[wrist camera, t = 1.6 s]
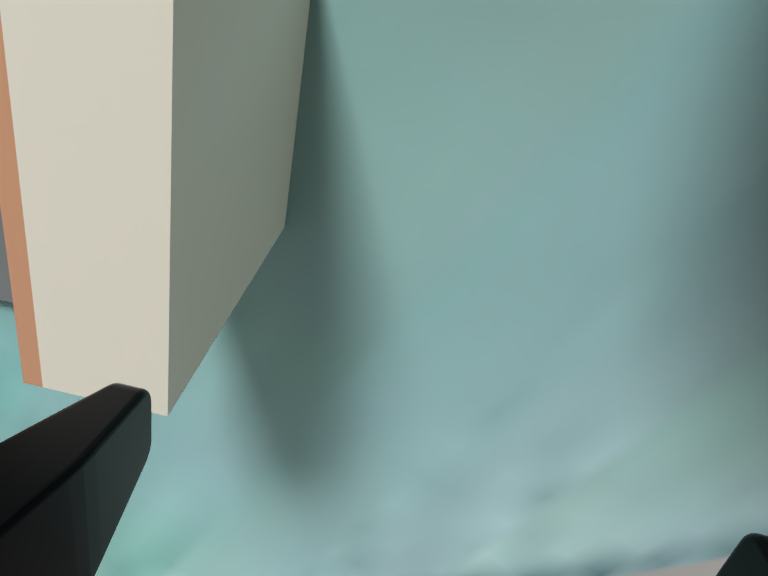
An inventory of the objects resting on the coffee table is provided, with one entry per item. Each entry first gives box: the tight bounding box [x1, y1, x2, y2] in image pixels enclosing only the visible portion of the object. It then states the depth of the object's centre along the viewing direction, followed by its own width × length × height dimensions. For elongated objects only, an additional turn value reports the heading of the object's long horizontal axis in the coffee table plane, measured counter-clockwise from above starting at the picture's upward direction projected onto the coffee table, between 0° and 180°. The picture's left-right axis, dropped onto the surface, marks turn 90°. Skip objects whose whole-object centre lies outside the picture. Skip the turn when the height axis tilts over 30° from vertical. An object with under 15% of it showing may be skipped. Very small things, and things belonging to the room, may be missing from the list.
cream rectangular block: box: [0, 0, 310, 416], centre depth 15 cm, size 3×8×9 cm, turn 169°
